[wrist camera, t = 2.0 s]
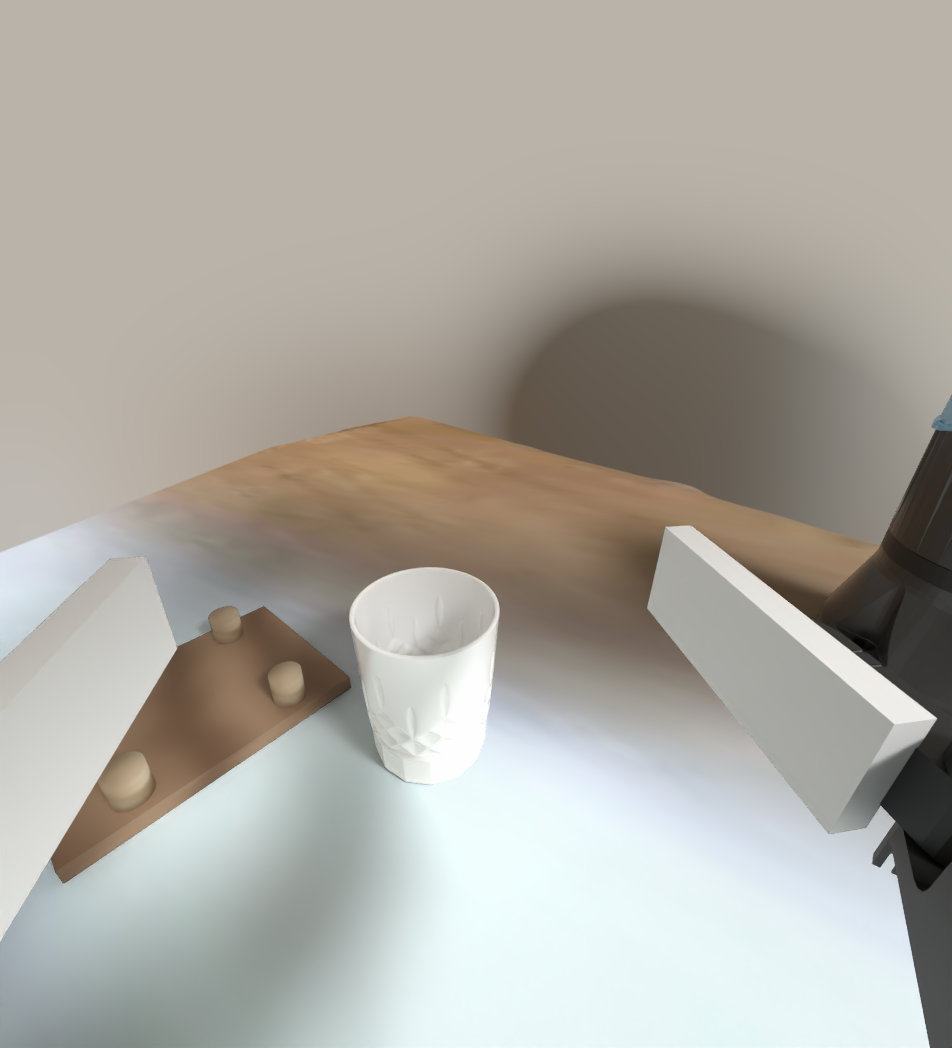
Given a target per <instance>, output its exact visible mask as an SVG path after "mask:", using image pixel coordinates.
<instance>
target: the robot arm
mask: <svg viewBox="0 0 952 1048" xmlns="http://www.w3.org/2000/svg"><path fill="white" fill-rule="evenodd" d="M932 428H934V429H936V430H935V432H934V434H933V436H932V438H931V440H930V443H929V444H928V447H927V449H926V451H925V453H924V455H923V457H922V459H921V461H920V463H919V465H918V468H917V470H916V471H915V474H914V476H913V478H912V480H911V482H910V484H909V486H908V488H907V490H906V492H905V494H904V496H903V498H902V501H901V503H900V505H899V507H898V509H897V511H896V513H895V515H894V517H893V519H892V522H891V523H890V526H889V528H888V531H887V532H886V535H885V537H884V539H883V541H882V543H881V545H880V547H879V549H878V550H877V551H876V552H875V553H874V554H873V555H872V556H871V557H870V558H869V559H868V560H867V561H866V562H865V563H864V564H863V565H862V566H861V567H859V568H858V569H857V570H856V571H855V572H854V573H853V574H852V575H851V576H850V577H849V578H848V579H847V580H846V581H845V582H843V583H842V584H841V585H840V586H839V587H838V588H837V589H836V590H835V591H834V592H833V593H832V594H831V595H830V596H829V597H828V598H827V599H826V601H825V602H824V603H823V606H822V608H821V610H820V612H819V615H818V617H817V619H814V618H808V617H807V616H806V615H804V614H803V613H802V612H801V611H799V610H798V609H797V608H795V607H794V606H793V605H792V604H790V603H789V602H788V601H787V600H785V599H784V598H783V597H781V596H780V595H779V594H778V593H776V592H775V591H774V590H773V589H771V588H770V587H769V586H767V585H766V584H765V583H764V582H762V581H761V580H760V579H758V578H757V577H756V576H755V575H753V574H752V573H751V572H750V571H748V570H747V569H746V568H744V567H743V566H742V565H741V564H739V563H738V562H737V561H735V560H734V559H733V558H732V557H730V556H729V555H728V554H727V553H725V552H724V551H723V550H721V549H720V548H719V547H718V546H716V545H715V544H714V543H713V542H711V541H710V540H709V539H707V538H706V537H705V536H704V535H702V534H701V533H700V532H698V531H697V530H696V529H695V528H693V527H692V526H674V527H665V532H664V536H663V540H662V545H661V549H660V554H659V558H658V562H657V567H656V571H655V576H654V580H653V584H652V589H651V593H650V598H649V602H648V606H647V609H648V610H649V611H650V612H651V614H652V615H653V616H654V617H655V619H656V620H657V621H658V622H659V624H660V625H661V626H662V627H663V629H664V630H665V631H666V632H667V634H668V635H669V636H670V637H671V639H672V640H673V641H674V642H675V644H676V645H677V646H678V647H679V649H680V650H681V651H682V652H683V654H684V655H685V656H686V657H687V658H688V660H689V661H690V662H691V663H692V665H693V666H694V667H695V668H696V670H697V671H698V672H699V673H700V675H701V676H702V677H703V678H704V680H705V681H706V682H707V683H708V685H709V686H710V687H711V688H712V690H713V691H714V692H715V693H716V695H717V696H718V697H719V698H720V700H721V701H722V702H723V703H724V704H725V706H726V707H727V708H728V709H729V711H730V712H731V713H732V714H733V716H734V717H735V718H736V719H737V721H738V722H739V723H740V724H741V726H742V727H743V728H744V729H745V731H746V732H747V733H748V734H749V736H750V737H751V738H752V739H753V741H754V742H755V743H756V744H757V746H758V747H759V748H760V749H761V751H762V752H763V753H764V754H765V755H766V757H767V758H768V759H769V760H770V762H771V763H772V764H773V765H774V767H775V768H776V769H777V770H778V772H779V773H780V774H781V775H782V777H783V778H784V779H785V780H786V782H787V783H788V784H789V785H790V787H791V788H792V789H793V790H794V792H795V793H796V794H797V795H798V797H799V798H800V799H801V800H802V801H803V803H804V804H805V805H806V806H807V808H808V809H809V810H810V811H811V813H812V814H813V815H814V816H815V818H816V819H817V820H818V821H819V823H820V824H821V825H822V826H823V828H824V829H825V830H826V831H827V833H828V834H833V833H839V832H845V831H850V830H856V829H862V828H866V827H867V826H868V824H869V823H870V821H871V819H872V818H873V816H874V815H875V813H876V812H877V810H878V809H879V807H880V806H882V807H883V808H884V809H885V810H886V811H887V812H888V814H889V815H890V816H891V817H892V818H893V819H894V820H895V821H896V822H895V823H894V825H893V826H892V828H891V829H890V830H889V832H888V833H887V835H886V836H885V838H884V839H883V841H882V842H881V843H880V845H879V846H878V848H877V849H876V851H875V852H874V854H873V862H872V864H874V865H876V866H878V867H881V866H882V864H883V863H884V861H885V860H886V859H887V857H888V856H889V854H890V853H892V854H893V857H894V862H895V867H894V868H893V869H892V872H891V873H893V874H895V875H897V878H898V883H899V888H900V893H901V898H902V904H903V909H904V914H905V919H906V925H907V930H908V935H909V940H910V945H911V951H912V956H913V961H914V966H915V972H916V977H917V982H918V987H919V992H920V998H921V1003H922V1008H923V1013H924V1019H925V1024H926V1029H927V1034H928V1039H929V1045H930V1048H952V395H951V397H950V399H949V401H948V403H947V405H946V407H945V408H944V410H943V412H942V414H941V415H939V416H938V417H936V419H935V420H934V422H933V425H932ZM176 650H177V646H176V643H175V640H174V637H173V634H172V631H171V628H170V625H169V622H168V619H167V616H166V613H165V610H164V607H163V604H162V601H161V599H160V596H159V593H158V590H157V587H156V584H155V581H154V578H153V575H152V572H151V569H150V566H149V563H148V560H147V557H130V558H113V559H109V560H108V561H107V562H106V563H105V564H104V565H103V566H102V567H101V568H100V569H98V570H97V571H96V572H95V573H94V574H93V575H92V576H91V577H90V578H89V579H88V580H87V581H86V582H85V583H84V584H83V585H82V586H80V587H79V588H78V589H77V590H76V591H75V592H74V593H73V594H72V595H71V596H70V597H69V598H68V599H67V600H66V601H65V602H64V603H62V604H61V605H60V606H59V607H58V608H57V609H56V610H55V611H54V612H53V613H52V614H51V615H50V616H49V617H48V618H47V619H46V620H44V621H43V622H42V623H41V624H40V625H39V626H38V627H37V628H36V629H35V630H34V631H33V632H32V633H31V634H30V635H29V636H27V637H26V638H25V639H24V640H23V641H22V642H21V643H20V644H19V645H18V646H17V647H16V648H15V649H14V650H13V651H12V652H11V653H9V654H8V655H7V656H6V657H5V658H4V659H3V660H2V661H1V662H0V941H1V939H2V938H3V936H4V934H5V933H6V931H7V929H8V928H9V926H10V924H11V923H12V921H13V919H14V918H15V916H16V914H17V913H18V911H19V909H20V908H21V906H22V905H23V903H24V901H25V900H26V898H27V896H28V895H29V893H30V891H31V890H32V888H33V886H34V885H35V883H36V881H37V880H38V878H39V876H40V875H41V873H42V871H43V870H44V868H45V866H46V865H47V863H48V862H49V860H50V858H51V857H52V855H53V853H54V852H55V850H56V848H57V847H58V845H59V843H60V842H61V840H62V838H63V837H64V835H65V833H66V832H67V830H68V828H69V827H70V825H71V823H72V822H73V820H74V818H75V817H76V815H77V814H78V812H79V810H80V809H81V807H82V805H83V804H84V802H85V800H86V799H87V797H88V795H89V794H90V792H91V790H92V789H93V787H94V785H95V784H96V782H97V780H98V779H99V777H100V775H101V774H102V772H103V770H104V769H105V767H106V766H107V764H108V762H109V761H110V759H111V757H112V756H113V754H114V752H115V751H116V749H117V747H118V746H119V744H120V742H121V741H122V739H123V737H124V736H125V734H126V732H127V731H128V729H129V727H130V726H131V724H132V722H133V721H134V719H135V718H136V716H137V714H138V713H139V711H140V709H141V708H142V706H143V704H144V703H145V701H146V699H147V698H148V696H149V694H150V693H151V691H152V689H153V688H154V686H155V684H156V683H157V681H158V679H159V678H160V676H161V675H162V673H163V671H164V670H165V668H166V666H167V665H168V663H169V661H170V660H171V658H172V656H173V655H174V653H175V651H176Z"/></svg>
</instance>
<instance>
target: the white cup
mask: <svg viewBox="0 0 952 1048" xmlns="http://www.w3.org/2000/svg"><path fill="white" fill-rule="evenodd" d="M499 612H500V608H499V602H498V599H497V597H496V595H495V594H494V592H493V591H492V590H491V588H490V587H489V586H488V585H486V584H485V583H484V582H482V581H481V580H479V579H478V578H476V577H474V576H472V575H470V574H467V573H464V572H461V571H457V570H453V569H447V568H438V567H422V568H413V569H407V570H402V571H398V572H395V573H392V574H389V575H387V576H384V577H382V578H380V579H378V580H376V581H374V582H373V583H371V584H370V585H368V586H367V587H366V588H365V589H363V590H362V591H361V592H360V593H359V594H358V596H357V597H356V598H355V600H354V601H353V603H352V606H351V608H350V612H349V623H350V628H351V633H352V638H353V643H354V648H355V653H356V658H357V663H358V669H359V674H360V679H361V685H362V690H363V694H364V698H365V702H366V706H367V712H368V716H369V720H370V723H371V726H372V729H373V734H374V739H375V745H376V749H377V751H378V753H379V755H380V757H381V759H382V761H383V763H384V766H385V768H386V769H388V770H389V771H391V772H392V773H394V774H395V775H397V776H398V777H400V778H401V779H403V780H404V781H406V782H412V783H419V784H427V785H434V784H437V783H440V782H444V781H447V780H450V779H453V778H457V777H458V776H459V775H461V774H462V773H463V772H464V771H465V770H466V769H467V768H469V767H470V766H471V765H472V764H473V763H474V762H475V761H476V760H477V758H478V755H479V753H480V750H481V748H482V745H483V743H484V740H485V732H486V720H487V715H488V710H489V705H490V696H491V688H492V682H493V673H494V662H495V652H496V641H497V631H498V622H499Z"/></svg>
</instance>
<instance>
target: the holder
mask: <svg viewBox="0 0 952 1048" xmlns="http://www.w3.org/2000/svg"><path fill="white" fill-rule="evenodd" d="M208 619H209V623H210V626H211V629H212V631H210V632H208V633H206V634H204V635H202V636H200V637H197V638H195V639H193V640H191V641H189V642H187V643H185V644H183V645H180V646H178V647H177V650H176V651H175V653H174V655H173V656H172V658H171V660H170V661H169V663H168V665H167V666H166V668H165V670H164V671H163V673H162V675H161V676H160V678H159V679H158V681H157V683H156V684H155V686H154V688H153V689H152V691H151V693H150V694H149V696H148V698H147V699H146V701H145V703H144V704H143V706H142V708H141V709H140V711H139V713H138V714H137V716H136V718H135V719H134V721H133V722H132V724H131V726H130V727H129V729H128V731H127V732H126V734H125V736H124V737H123V739H122V741H121V742H120V744H119V746H118V747H117V749H116V751H115V752H114V754H113V756H112V757H111V759H110V761H109V762H108V764H107V766H106V767H105V769H104V770H103V772H102V774H101V775H100V777H99V779H98V780H97V782H96V784H95V785H94V787H93V789H92V790H91V792H90V794H89V795H88V797H87V799H86V800H85V802H84V804H83V805H82V807H81V809H80V810H79V812H78V814H77V815H76V817H75V818H74V820H73V822H72V823H71V825H70V827H69V828H68V830H67V832H66V833H65V835H64V837H63V838H62V840H61V842H60V843H59V845H58V847H57V848H56V850H55V852H54V853H53V855H52V857H51V860H52V863H53V866H54V869H55V872H56V874H57V875H58V876H59V878H60V879H61V881H62V882H63V883H65V882H67V881H68V880H70V879H71V878H73V877H74V876H76V875H77V874H79V873H80V872H81V871H83V870H84V869H86V868H87V867H89V866H90V865H92V864H93V863H95V862H96V861H98V860H99V859H100V858H102V857H103V856H105V855H106V854H108V853H109V852H111V851H112V850H114V849H115V848H117V847H118V846H120V845H121V844H122V843H124V842H125V841H127V840H128V839H130V838H131V837H133V836H134V835H136V834H137V833H139V832H140V831H141V830H143V829H144V828H146V827H147V826H149V825H150V824H152V823H153V822H155V821H156V820H158V819H159V818H161V817H162V816H163V815H165V814H166V813H168V812H169V811H171V810H172V809H174V808H175V807H177V806H178V805H180V804H181V803H182V802H184V801H185V800H187V799H188V798H190V797H191V796H193V795H194V794H196V793H197V792H199V791H200V790H202V789H203V788H204V787H206V786H207V785H209V784H210V783H212V782H213V781H215V780H216V779H218V778H219V777H221V776H222V775H223V774H225V773H226V772H228V771H229V770H231V769H232V768H234V767H235V766H237V765H238V764H240V763H241V762H243V761H244V760H245V759H247V758H248V757H250V756H251V755H253V754H254V753H256V752H257V751H259V750H260V749H262V748H263V747H264V746H266V745H267V744H269V743H270V742H272V741H273V740H275V739H276V738H278V737H279V736H281V735H282V734H284V733H285V732H286V731H288V730H289V729H291V728H292V727H294V726H295V725H297V724H298V723H300V722H301V721H303V720H304V719H305V718H307V717H308V716H310V715H311V714H313V713H314V712H316V711H317V710H319V709H320V708H322V707H323V706H325V705H326V704H327V703H329V702H330V701H332V700H333V699H335V698H336V697H338V696H339V695H341V694H342V693H344V692H345V691H346V690H348V689H349V688H351V685H350V678H349V676H348V675H346V674H345V673H344V672H343V671H342V670H340V669H339V668H338V667H337V666H336V665H334V664H333V663H332V662H331V661H329V660H328V659H327V658H326V657H325V656H323V655H322V654H321V653H320V652H319V651H317V650H316V649H315V648H314V647H313V646H311V645H310V644H309V643H308V642H307V641H305V640H304V639H303V638H302V637H301V636H299V635H298V634H297V633H296V632H294V631H293V630H292V629H291V628H290V627H288V626H287V625H286V624H285V623H284V622H282V621H281V620H280V619H279V618H278V617H276V616H275V615H274V614H273V613H272V612H270V611H269V610H268V609H267V608H266V607H264V606H263V607H261V608H259V609H257V610H255V611H253V612H251V613H249V614H246V615H244V616H242V617H240V616H239V612H238V609H237V608H235V607H232V606H227V607H222V608H219V609H216V610H215V611H213V612H212V613H211V614H210V615H209V617H208Z"/></svg>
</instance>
